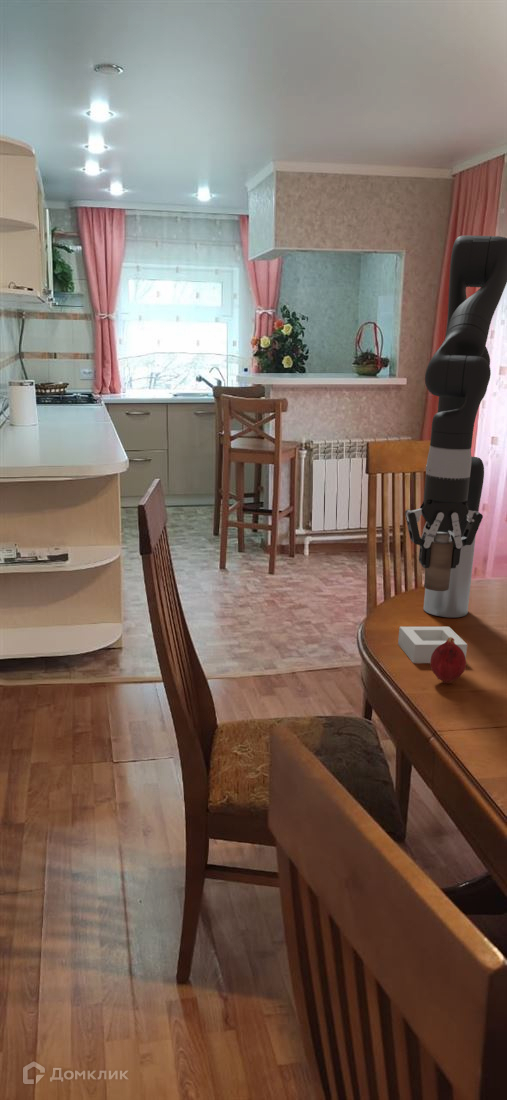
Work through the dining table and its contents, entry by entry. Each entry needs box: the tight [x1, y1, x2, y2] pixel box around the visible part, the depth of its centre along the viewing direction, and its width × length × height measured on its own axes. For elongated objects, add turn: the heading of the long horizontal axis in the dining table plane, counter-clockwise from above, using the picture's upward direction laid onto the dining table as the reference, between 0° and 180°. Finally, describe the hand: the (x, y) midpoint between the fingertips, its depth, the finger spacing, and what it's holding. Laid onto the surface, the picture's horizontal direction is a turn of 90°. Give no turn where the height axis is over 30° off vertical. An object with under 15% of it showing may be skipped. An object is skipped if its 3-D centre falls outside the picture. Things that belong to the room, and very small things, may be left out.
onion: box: [430, 637, 467, 684], centre depth 140 cm, size 6×6×8 cm
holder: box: [397, 626, 468, 664], centre depth 154 cm, size 10×10×4 cm
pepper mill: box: [423, 532, 454, 591], centre depth 150 cm, size 4×4×10 cm
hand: (438, 566), depth 151 cm, fingers closed on pepper mill, 4 cm apart
